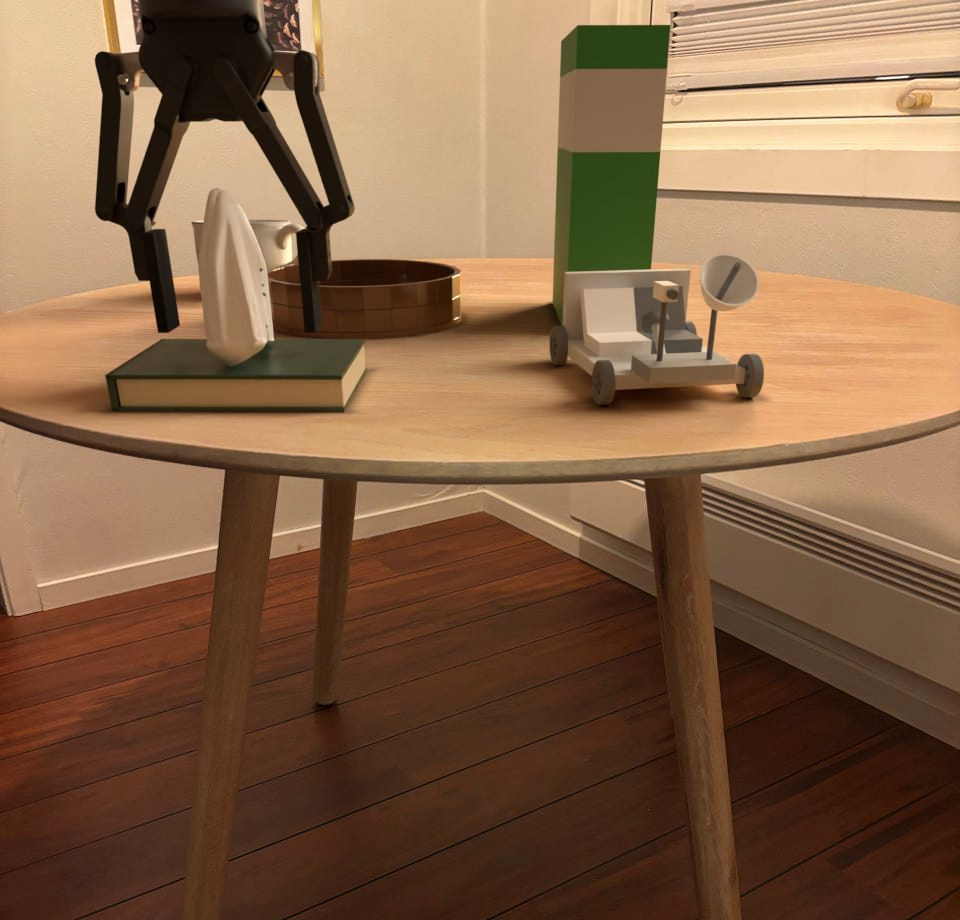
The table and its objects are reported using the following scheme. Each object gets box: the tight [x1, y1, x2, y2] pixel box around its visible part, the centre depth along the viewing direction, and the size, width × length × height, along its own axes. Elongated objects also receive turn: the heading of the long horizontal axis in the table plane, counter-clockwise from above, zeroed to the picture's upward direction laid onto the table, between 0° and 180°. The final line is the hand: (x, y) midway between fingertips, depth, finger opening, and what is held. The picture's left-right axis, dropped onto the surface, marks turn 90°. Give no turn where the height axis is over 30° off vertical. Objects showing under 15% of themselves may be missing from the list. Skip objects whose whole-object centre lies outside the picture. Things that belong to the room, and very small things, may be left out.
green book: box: [104, 338, 368, 413], centre depth 69 cm, size 16×12×2 cm
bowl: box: [267, 258, 463, 340], centre depth 93 cm, size 19×19×4 cm
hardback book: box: [552, 24, 672, 326], centre depth 89 cm, size 18×7×24 cm, turn 0°
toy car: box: [548, 252, 765, 406], centre depth 68 cm, size 18×10×12 cm
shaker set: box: [197, 187, 275, 367], centre depth 66 cm, size 12×4×11 cm, turn 8°
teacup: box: [190, 219, 306, 270], centre depth 106 cm, size 14×11×8 cm
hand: (241, 329), depth 68 cm, fingers open, 10 cm apart
